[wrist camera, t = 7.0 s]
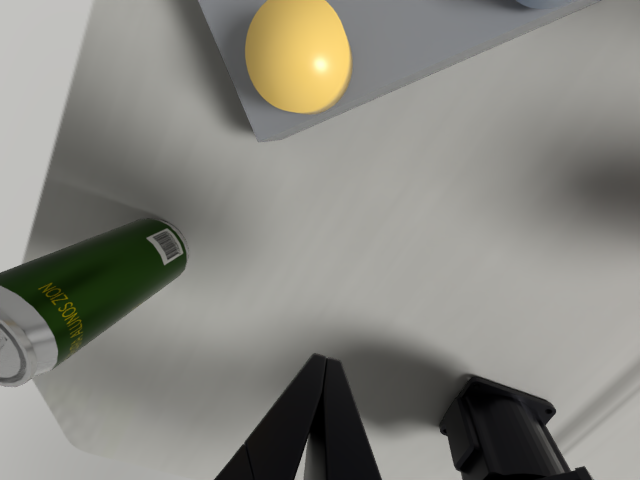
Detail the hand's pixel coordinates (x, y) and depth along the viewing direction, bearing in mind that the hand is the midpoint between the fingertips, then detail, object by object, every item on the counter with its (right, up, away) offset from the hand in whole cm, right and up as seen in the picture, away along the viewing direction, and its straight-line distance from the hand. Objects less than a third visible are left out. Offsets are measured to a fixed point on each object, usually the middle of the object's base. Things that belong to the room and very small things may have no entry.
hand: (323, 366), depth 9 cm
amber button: (0, +13, +8) cm, 15 cm away
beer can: (-13, +3, +16) cm, 21 cm away
